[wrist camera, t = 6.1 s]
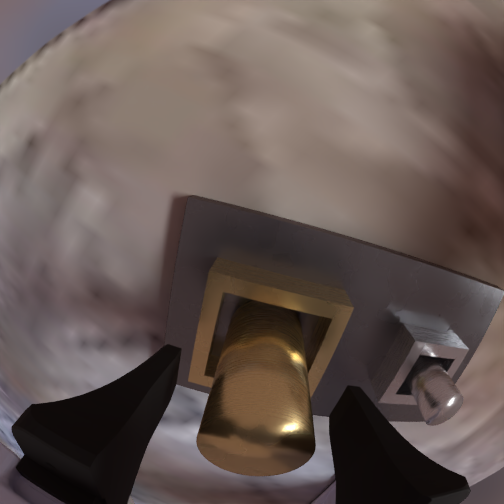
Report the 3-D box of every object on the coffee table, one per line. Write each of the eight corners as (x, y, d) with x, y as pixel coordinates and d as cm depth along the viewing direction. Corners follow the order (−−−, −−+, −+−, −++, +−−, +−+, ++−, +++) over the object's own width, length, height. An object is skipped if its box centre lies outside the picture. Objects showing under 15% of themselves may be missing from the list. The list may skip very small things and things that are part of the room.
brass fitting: (289, 365, 16) (293, 480, 9) (223, 351, 16) (191, 463, 9) (310, 308, 15) (334, 423, 8) (236, 291, 15) (203, 401, 8)
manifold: (423, 413, 18) (446, 465, 13) (165, 370, 18) (134, 432, 13) (497, 285, 15) (548, 324, 9) (193, 195, 15) (145, 213, 9)
